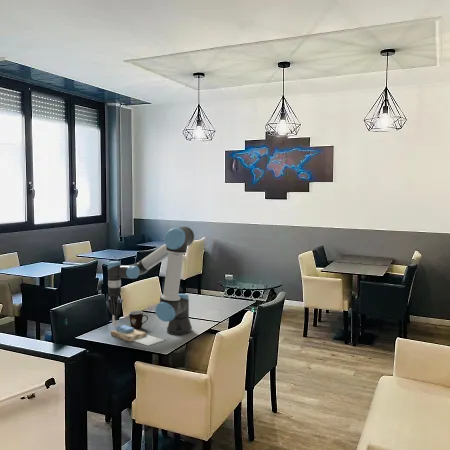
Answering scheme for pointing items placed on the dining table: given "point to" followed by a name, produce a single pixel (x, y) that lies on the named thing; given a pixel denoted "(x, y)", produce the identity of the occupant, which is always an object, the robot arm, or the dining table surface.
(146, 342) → the mat
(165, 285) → the robot arm
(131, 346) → the dining table surface
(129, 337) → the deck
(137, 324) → the coffee mug
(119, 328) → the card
